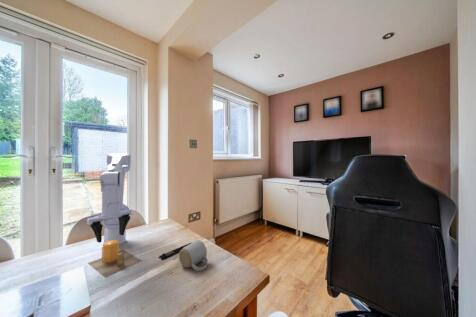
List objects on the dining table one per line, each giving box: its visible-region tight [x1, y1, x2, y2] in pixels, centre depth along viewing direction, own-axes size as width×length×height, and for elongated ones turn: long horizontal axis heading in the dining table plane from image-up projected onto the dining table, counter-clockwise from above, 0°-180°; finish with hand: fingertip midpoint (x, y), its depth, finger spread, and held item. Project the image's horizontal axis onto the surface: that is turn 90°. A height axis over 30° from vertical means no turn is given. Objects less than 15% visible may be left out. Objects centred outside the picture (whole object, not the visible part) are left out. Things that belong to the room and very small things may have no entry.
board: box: [87, 249, 143, 279], centre depth 67 cm, size 15×12×6 cm
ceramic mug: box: [178, 239, 209, 272], centre depth 68 cm, size 11×8×8 cm
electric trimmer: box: [158, 241, 193, 261], centre depth 75 cm, size 4×16×3 cm, turn 142°
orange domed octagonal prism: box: [101, 240, 120, 262], centre depth 70 cm, size 5×5×6 cm
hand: (110, 238), depth 70 cm, fingers open, 7 cm apart
